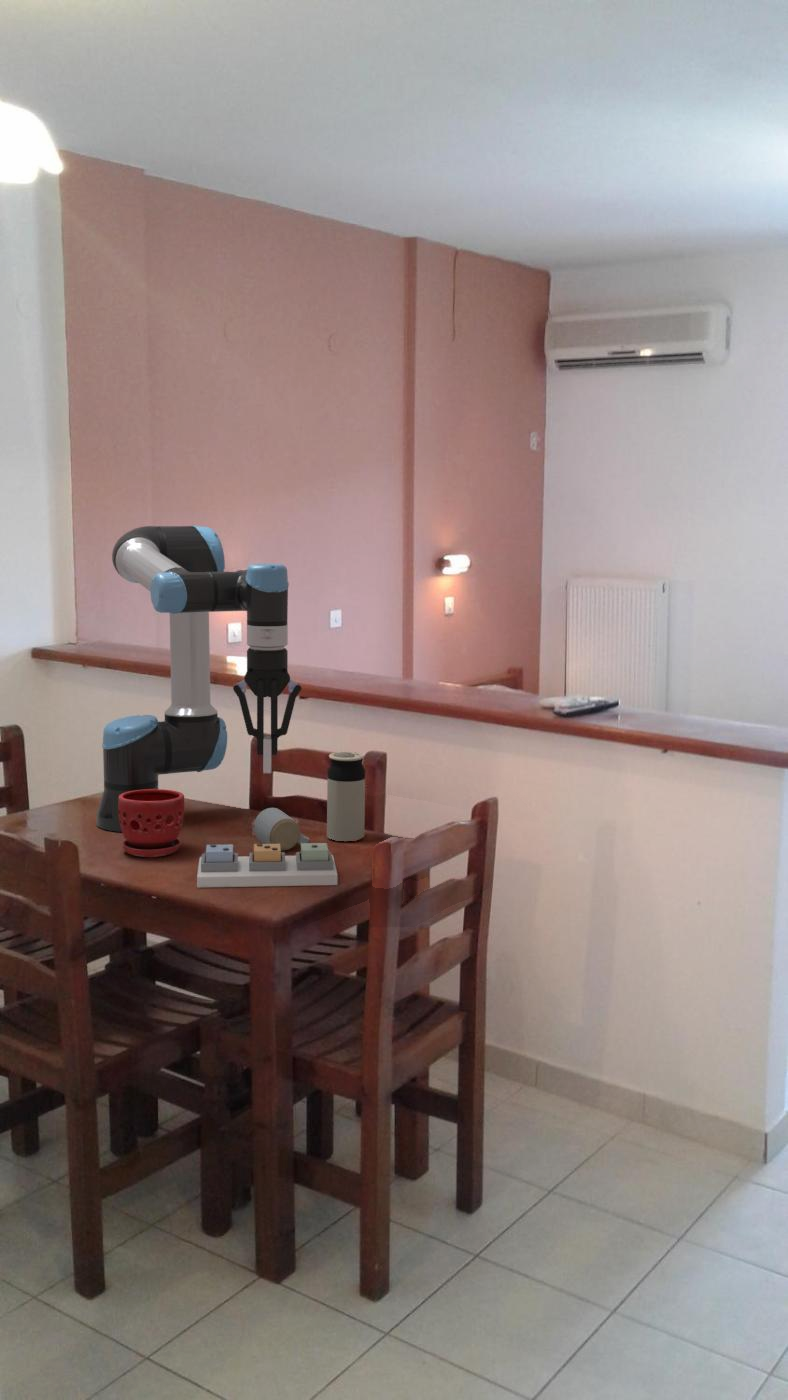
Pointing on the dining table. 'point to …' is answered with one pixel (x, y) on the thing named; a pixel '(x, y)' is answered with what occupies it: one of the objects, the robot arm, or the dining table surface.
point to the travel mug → (345, 796)
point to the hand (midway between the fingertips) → (267, 771)
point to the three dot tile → (267, 852)
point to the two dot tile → (219, 853)
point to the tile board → (266, 872)
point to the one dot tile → (314, 851)
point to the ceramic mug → (278, 829)
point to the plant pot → (151, 821)
